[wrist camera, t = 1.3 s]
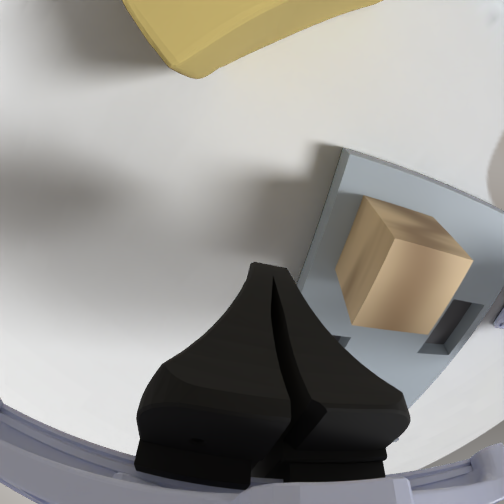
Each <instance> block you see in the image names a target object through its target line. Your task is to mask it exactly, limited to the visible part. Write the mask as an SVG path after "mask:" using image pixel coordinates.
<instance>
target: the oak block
mask: <svg viewBox="0 0 504 504" xmlns="http://www.w3.org/2000/svg"><path fill="white" fill-rule="evenodd" d="M472 263H473V260H472V258H471V257H470V256H469V255H468V254H467V253H466V252H465V250H464V249H463V248H462V247H461V246H460V245H459V244H458V243H457V242H456V241H455V239H454V238H453V237H452V236H451V235H450V234H449V233H448V232H447V231H446V230H445V229H444V228H443V227H442V226H441V225H440V224H439V223H438V222H437V220H436V219H435V218H434V217H432V216H429V215H426V214H423V213H420V212H417V211H414V210H411V209H408V208H404V207H401V206H398V205H395V204H392V203H389V202H385V201H382V200H379V199H375V198H372V197H369V196H365V195H363V198H362V201H361V204H360V206H359V209H358V212H357V214H356V217H355V220H354V222H353V225H352V227H351V230H350V233H349V235H348V238H347V240H346V243H345V245H344V248H343V250H342V253H341V255H340V258H339V260H338V263H337V265H336V267H335V271H336V274H337V277H338V281H339V284H340V287H341V290H342V294H343V297H344V300H345V304H346V307H347V311H348V314H349V318H350V321H351V325H354V326H361V327H368V328H376V329H384V330H391V331H400V332H408V333H417V334H426V335H428V334H429V333H430V331H431V330H432V328H433V327H434V325H435V324H436V322H437V321H438V319H439V318H440V316H441V315H442V313H443V312H444V310H445V308H446V307H447V305H448V304H449V302H450V301H451V299H452V297H453V296H454V294H455V292H456V291H457V289H458V287H459V286H460V284H461V282H462V280H463V279H464V277H465V275H466V273H467V272H468V270H469V268H470V266H471V264H472Z"/></svg>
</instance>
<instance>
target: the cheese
mask: <svg viewBox="0 0 504 504" xmlns="http://www.w3.org/2000/svg"><path fill="white" fill-rule="evenodd" d="M380 1H383V0H122V2H123V3H124V5H125V7H126V9H127V11H128V12H129V14H130V15H131V17H132V18H133V20H134V21H135V22H136V24H137V26H138V27H139V29H140V30H141V32H142V33H143V35H144V36H145V38H146V39H147V40H148V42H149V43H150V44H151V46H152V47H153V48H154V49H155V51H156V52H157V53H158V55H159V56H160V57H161V58H162V60H163V61H164V62H165V64H166V65H167V66H168V67H169V68H171V69H172V70H174V71H176V72H178V73H180V74H182V75H185V76H187V77H190V78H195V79H201V78H203V77H206V76H208V75H209V74H211V73H212V72H214V71H215V70H217V69H218V68H219V67H223V66H225V65H227V64H229V63H231V62H233V61H235V60H237V59H239V58H241V57H243V56H245V55H247V54H249V53H252V52H254V51H256V50H258V49H260V48H263V47H265V46H267V45H269V44H272V43H274V42H276V41H278V40H281V39H283V38H285V37H287V36H290V35H292V34H294V33H296V32H299V31H301V30H303V29H306V28H308V27H311V26H313V25H315V24H318V23H320V22H323V21H325V20H328V19H330V18H333V17H336V16H338V15H341V14H344V13H347V12H350V11H353V10H356V9H360V8H363V7H367V6H370V5H374V4H376V3H378V2H380Z"/></svg>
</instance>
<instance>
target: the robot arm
mask: <svg viewBox="0 0 504 504" xmlns="http://www.w3.org/2000/svg"><path fill="white" fill-rule="evenodd" d="M493 325H494V327H495V328H502V329H504V308H503V310H502V311H501V313H500V314H499V316H498V317H497V319H496V320H495V321H494V324H493ZM136 420H137V425H138V431H139V436H140V441H139V445H138V449H137V453H136V456H133V455H129V454H126V453H122V452H119V451H116V450H112V449H109V448H106V447H103V446H100V445H97V444H94V443H91V442H88V441H86V440H83V439H80V438H78V437H75V436H72V435H70V434H67V433H65V432H62V431H60V430H58V429H55V428H53V427H51V426H48V425H46V424H44V423H42V422H39V421H37V420H35V419H33V418H31V417H29V416H27V415H25V414H23V413H21V412H19V411H17V410H15V409H13V408H11V407H9V406H7V405H5V404H4V403H3V402H2V400H1V398H0V482H1V483H2V484H4V485H6V486H7V487H9V488H11V489H13V490H14V491H16V492H17V493H19V494H21V495H23V496H25V497H26V498H28V499H31V500H32V501H34V502H36V503H38V504H496V503H498V502H499V501H501V500H503V499H504V446H503V443H498V444H495V445H491V446H488V447H486V448H483V449H482V450H480V451H478V452H477V453H476V454H474V455H473V456H472V457H471V458H470V459H466V460H462V461H459V462H454V463H450V464H446V465H442V466H437V467H433V468H427V469H422V470H416V471H410V472H404V473H397V474H390V475H385V471H384V466H383V461H384V460H386V459H387V453H386V447H387V446H388V445H390V444H391V443H392V442H393V441H394V440H396V439H397V438H398V437H399V436H400V435H401V434H402V433H403V432H404V431H405V430H406V429H407V427H408V425H409V423H410V415H409V411H408V408H407V404H406V401H405V398H404V395H403V392H401V391H400V390H398V389H397V388H395V387H394V386H392V385H390V384H389V383H387V382H386V381H384V380H383V379H381V378H380V377H378V376H377V375H376V374H374V373H373V372H372V371H370V370H369V369H368V368H366V367H365V366H364V365H363V364H361V363H360V362H359V361H358V360H357V359H356V358H354V357H353V356H352V355H351V354H350V353H349V352H348V351H347V350H346V349H345V348H344V347H343V346H342V345H341V344H340V343H339V342H338V341H337V340H336V339H335V338H334V337H333V336H332V334H331V333H330V332H329V331H328V330H327V329H326V328H325V326H324V325H323V324H322V323H321V321H320V320H319V319H318V317H317V316H316V315H315V313H314V312H313V311H312V309H311V308H310V306H309V305H308V303H307V302H306V300H305V298H304V297H303V295H302V294H301V292H300V290H299V289H298V287H297V285H296V283H295V282H294V280H293V278H292V277H291V275H290V273H289V271H288V270H287V268H282V267H277V266H272V265H267V264H262V263H257V262H253V263H251V264H250V268H249V272H248V276H247V279H246V281H245V283H244V285H243V287H242V289H241V291H240V292H239V294H238V295H237V297H236V298H235V300H234V301H233V303H232V304H231V305H230V307H229V308H228V309H227V311H226V312H225V313H224V314H223V315H222V316H221V318H220V319H219V320H218V321H217V322H216V323H215V324H214V325H213V326H212V327H211V328H210V329H209V330H208V331H207V332H206V333H205V334H204V335H203V336H201V337H200V338H199V339H198V340H196V341H195V342H194V343H193V344H191V345H190V346H189V347H188V348H186V349H185V350H183V351H182V352H181V353H179V354H177V355H176V356H174V357H173V358H171V359H169V360H168V361H166V362H165V363H163V364H162V365H161V366H160V368H159V369H158V370H157V372H156V373H155V374H154V376H153V377H152V379H151V381H150V382H149V384H148V385H147V387H146V389H145V391H144V393H143V395H142V398H141V401H140V404H139V408H138V411H137V417H136Z"/></svg>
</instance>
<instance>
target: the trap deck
mask: <svg viewBox="0 0 504 504" xmlns="http://www.w3.org/2000/svg"><path fill="white" fill-rule="evenodd" d="M363 195H365V196H369V197H372V198H375V199H379V200H382V201H385V202H389V203H392V204H395V205H398V206H401V207H404V208H408V209H411V210H414V211H417V212H420V213H423V214H426V215H429V216H432V217H434V218H435V219H436V220H437V222H438V223H439V224H440V225H441V226H442V227H443V228H444V229H445V230H446V231H447V232H448V233H449V234H450V235H451V236H452V237H453V238H454V239H455V241H456V242H457V243H458V244H459V245H460V246H461V247H462V248H463V249H464V250H465V252H466V253H467V254H468V255H469V256H470V257H471V258H472V260H473V263H472V264H471V266H470V268H469V270H468V272H467V273H466V275H465V277H464V279H463V280H462V282H461V284H460V286H459V287H458V289H457V291H456V292H455V294H454V296H453V297H452V299H451V301H450V302H449V304H448V305H447V307H446V308H445V310H444V312H443V313H442V315H441V316H440V318H439V319H438V321H437V322H436V324H435V325H434V327H433V328H432V330H431V331H430V333H429V334H428V335H426V334H417V333H408V332H400V331H391V330H384V329H376V328H368V327H361V326H354V325H351V321H350V318H349V314H348V311H347V307H346V304H345V300H344V297H343V294H342V290H341V287H340V284H339V281H338V277H337V274H336V271H335V267H336V265H337V263H338V260H339V258H340V255H341V253H342V250H343V248H344V245H345V243H346V240H347V238H348V235H349V233H350V230H351V227H352V225H353V222H354V220H355V217H356V214H357V212H358V209H359V206H360V204H361V201H362V198H363ZM297 287H298V289H299V290H300V292H301V294H302V295H303V297H304V298H305V300H306V302H307V303H308V305H309V306H310V308H311V309H312V311H313V312H314V313H315V315H316V316H317V317H318V319H319V320H320V321H321V323H322V324H323V325H324V326H325V328H326V329H327V330H328V331H329V332H330V333H331V334H332V336H333V337H334V338H335V339H336V340H337V341H338V342H339V343H340V344H341V345H342V346H343V347H344V348H345V349H346V350H347V351H348V352H349V353H350V354H351V355H352V356H353V357H354V358H356V359H357V360H358V361H359V362H360V363H361V364H363V365H364V366H365V367H366V368H368V369H369V370H370V371H372V372H373V373H374V374H376V375H377V376H378V377H380V378H381V379H383V380H384V381H386V382H387V383H389V384H390V385H392V386H394V387H395V388H397V389H398V390H400V391H401V392H403V395H404V398H405V401H406V404H407V408H408V409H409V408H410V407H411V406H412V405H413V404H414V403H415V402H416V400H417V399H418V398H419V397H420V396H421V395H422V394H423V393H424V392H425V391H426V390H427V389H428V388H429V386H430V385H431V384H432V383H433V382H434V381H435V380H436V379H437V377H438V376H439V375H440V374H441V373H442V372H443V370H444V369H445V368H446V367H447V366H448V364H449V363H450V362H451V361H452V359H453V358H454V357H455V356H456V354H457V353H458V352H459V351H460V349H461V348H462V347H463V345H464V344H465V343H466V342H467V340H468V339H469V338H470V336H471V335H472V333H473V332H474V331H475V329H476V328H477V326H478V325H479V324H480V322H481V321H482V319H483V318H484V316H485V315H486V313H487V312H488V310H489V309H490V307H491V306H492V304H493V303H494V301H495V300H496V298H497V297H498V295H499V293H500V292H501V290H502V288H503V287H504V211H503V210H501V209H499V208H497V207H495V206H493V205H491V204H489V203H487V202H485V201H483V200H480V199H478V198H476V197H474V196H472V195H470V194H467V193H465V192H463V191H461V190H458V189H456V188H454V187H451V186H449V185H447V184H444V183H442V182H439V181H437V180H434V179H432V178H429V177H427V176H424V175H422V174H419V173H417V172H414V171H411V170H409V169H406V168H403V167H401V166H398V165H395V164H392V163H389V162H387V161H384V160H381V159H378V158H375V157H372V156H369V155H366V154H363V153H359V152H356V151H353V150H350V149H347V148H343V149H342V153H341V156H340V159H339V162H338V166H337V169H336V172H335V175H334V178H333V181H332V185H331V188H330V191H329V194H328V197H327V200H326V203H325V206H324V209H323V212H322V215H321V218H320V221H319V224H318V227H317V230H316V232H315V235H314V238H313V241H312V244H311V247H310V250H309V253H308V255H307V258H306V261H305V264H304V267H303V269H302V272H301V275H300V278H299V280H298V283H297ZM397 440H399V438H397V439H396V440H394V441H393V442H396V441H397Z"/></svg>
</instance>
